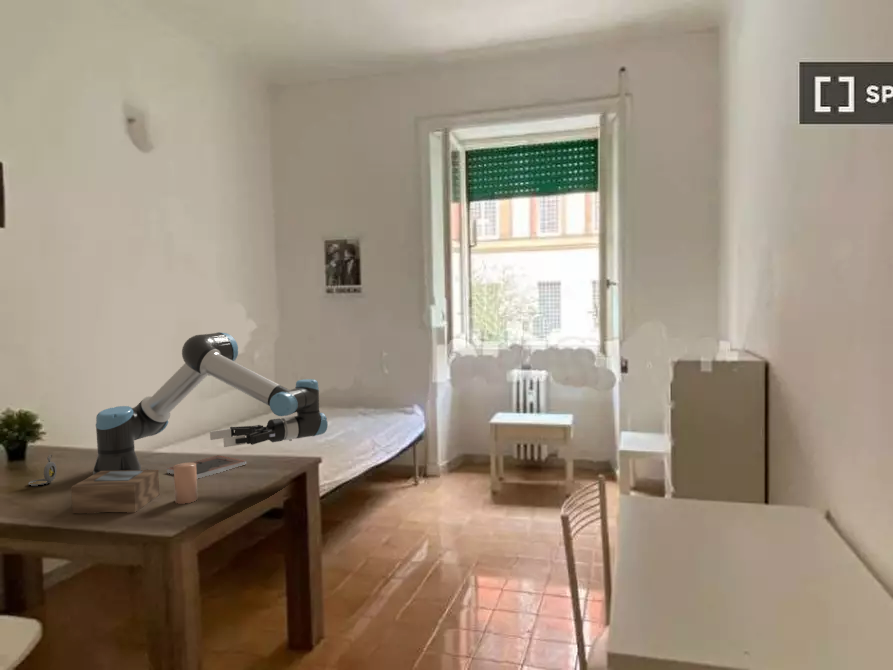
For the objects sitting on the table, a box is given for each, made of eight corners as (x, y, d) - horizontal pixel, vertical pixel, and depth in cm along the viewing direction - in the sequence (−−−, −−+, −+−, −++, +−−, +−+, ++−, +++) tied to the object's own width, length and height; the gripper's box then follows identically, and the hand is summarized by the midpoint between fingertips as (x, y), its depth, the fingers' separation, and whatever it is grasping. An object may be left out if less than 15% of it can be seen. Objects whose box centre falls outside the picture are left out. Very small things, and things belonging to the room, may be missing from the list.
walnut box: (102, 495, 206) (100, 469, 206) (159, 494, 207) (158, 468, 206) (72, 513, 189) (71, 485, 189) (135, 512, 190) (134, 484, 189)
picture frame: (195, 481, 223) (246, 466, 241) (195, 474, 223) (246, 460, 241) (166, 474, 232) (218, 461, 250) (166, 467, 232) (217, 454, 250)
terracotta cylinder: (179, 497, 203) (178, 462, 202) (200, 497, 203) (199, 462, 202) (171, 504, 197) (170, 468, 196) (193, 503, 197) (191, 467, 196)
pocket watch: (27, 484, 221) (25, 454, 221) (56, 479, 226) (54, 451, 226) (29, 489, 215) (28, 459, 214) (59, 484, 220) (57, 455, 219)
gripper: (297, 446, 207) (230, 458, 195) (268, 434, 227) (205, 444, 215) (296, 423, 207) (229, 433, 194) (267, 413, 227) (204, 421, 214)
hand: (216, 439), depth 204 cm, fingers open, 13 cm apart
